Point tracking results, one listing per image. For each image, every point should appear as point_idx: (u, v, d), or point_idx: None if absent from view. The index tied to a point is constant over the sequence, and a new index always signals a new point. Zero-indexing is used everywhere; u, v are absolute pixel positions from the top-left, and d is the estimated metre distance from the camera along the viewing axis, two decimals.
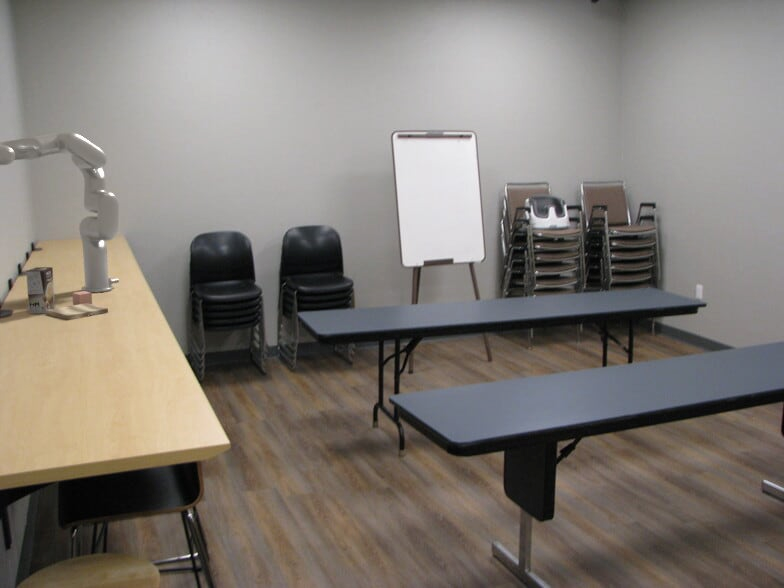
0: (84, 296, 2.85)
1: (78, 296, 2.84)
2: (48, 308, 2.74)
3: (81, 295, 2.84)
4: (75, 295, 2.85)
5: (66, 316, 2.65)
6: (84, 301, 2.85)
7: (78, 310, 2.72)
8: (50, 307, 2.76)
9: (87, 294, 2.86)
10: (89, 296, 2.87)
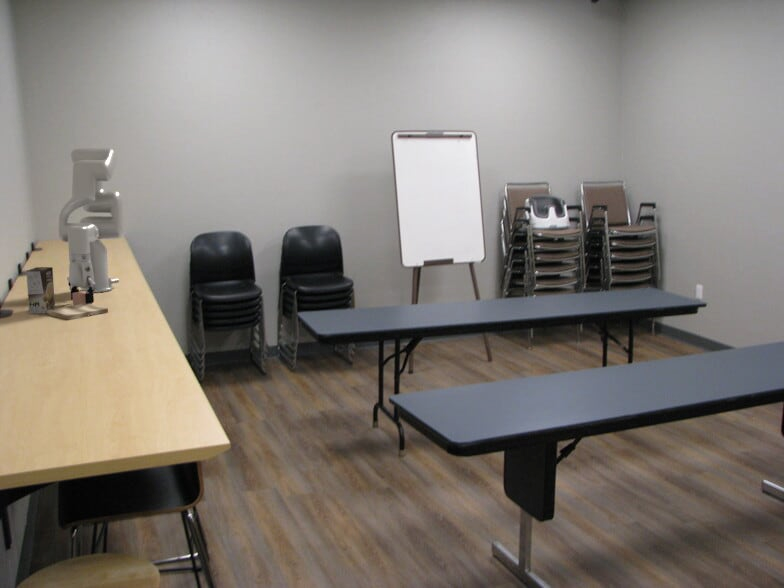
0: (84, 296, 2.85)
1: (78, 296, 2.84)
2: (48, 308, 2.74)
3: (81, 295, 2.84)
4: (75, 295, 2.85)
5: (66, 316, 2.65)
6: (84, 301, 2.85)
7: (78, 310, 2.72)
8: (50, 307, 2.76)
9: None
10: None
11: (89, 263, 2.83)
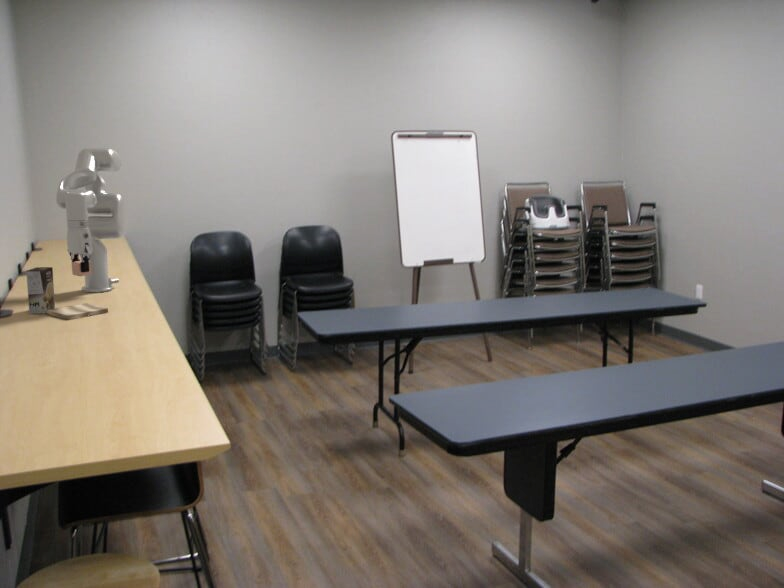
0: None
1: (77, 265, 2.82)
2: (48, 308, 2.74)
3: (80, 264, 2.82)
4: (74, 264, 2.83)
5: (66, 316, 2.65)
6: None
7: (78, 310, 2.72)
8: (50, 307, 2.76)
9: None
10: None
11: (87, 230, 2.80)
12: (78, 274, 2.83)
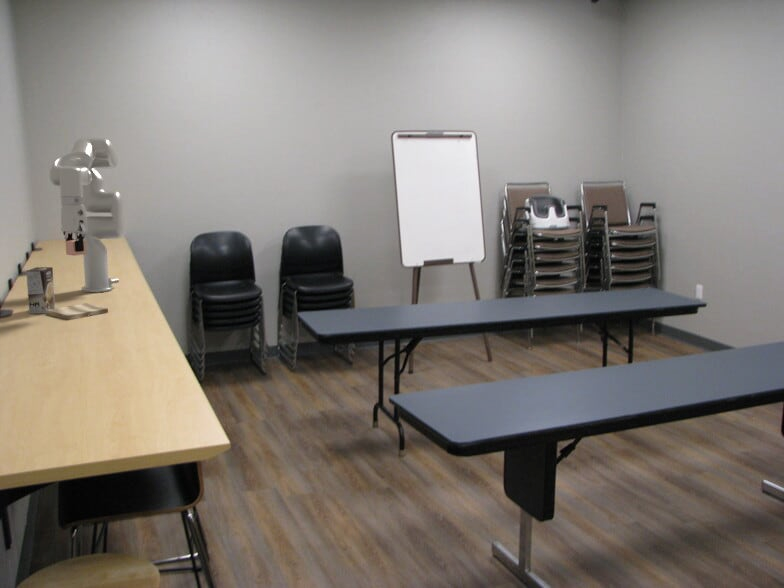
0: None
1: (71, 244, 2.70)
2: (48, 308, 2.74)
3: (74, 243, 2.70)
4: (68, 243, 2.71)
5: (66, 316, 2.65)
6: None
7: (78, 310, 2.72)
8: (50, 307, 2.76)
9: None
10: None
11: (82, 206, 2.68)
12: (72, 253, 2.71)
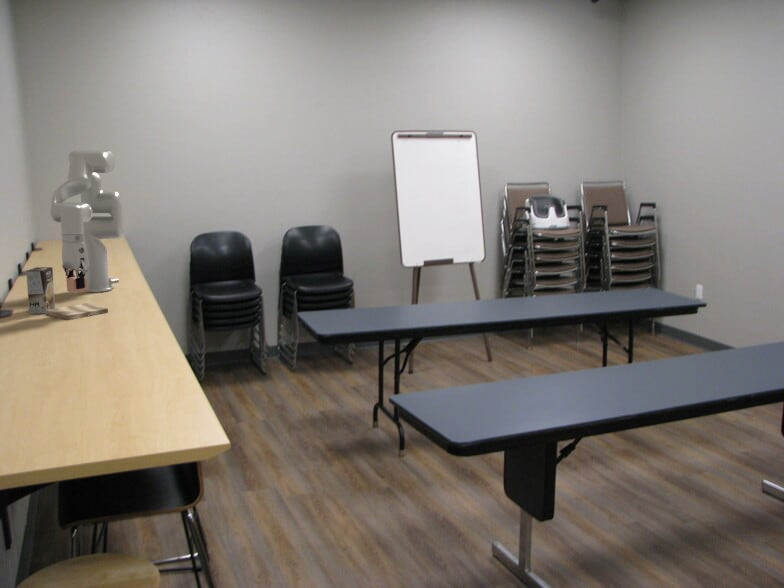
0: None
1: (72, 281, 2.69)
2: (48, 308, 2.74)
3: (75, 280, 2.69)
4: (69, 280, 2.70)
5: (66, 316, 2.65)
6: None
7: (78, 310, 2.72)
8: (50, 307, 2.76)
9: None
10: None
11: (83, 244, 2.67)
12: (73, 290, 2.70)
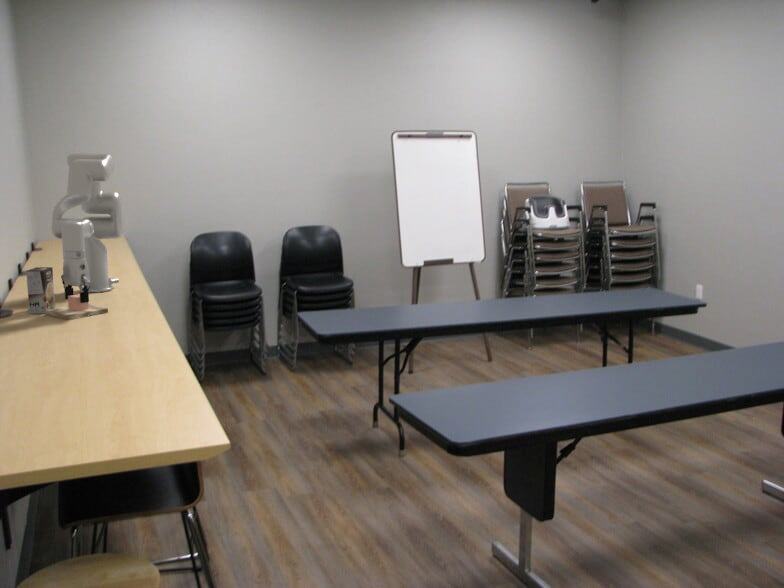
0: None
1: (74, 299, 2.71)
2: (48, 308, 2.74)
3: (77, 298, 2.71)
4: (71, 298, 2.72)
5: (66, 316, 2.65)
6: (80, 304, 2.72)
7: None
8: (50, 307, 2.76)
9: None
10: None
11: (84, 260, 2.69)
12: (74, 309, 2.71)
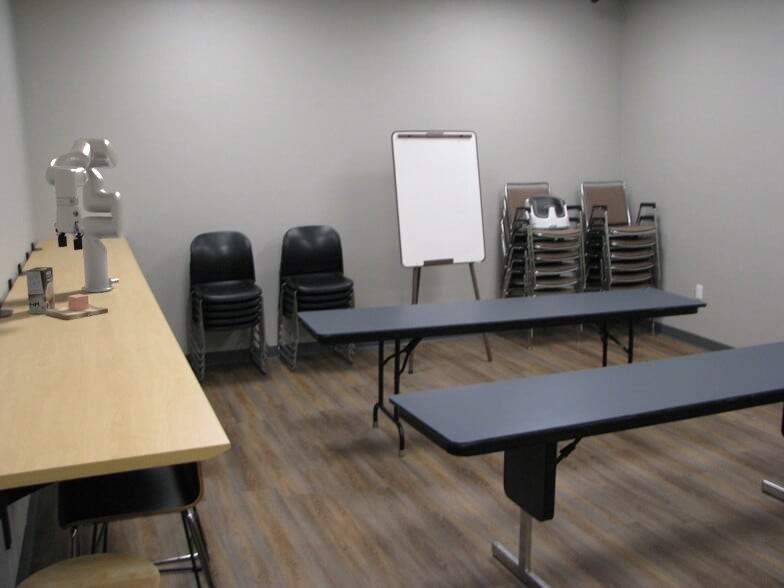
0: (80, 299, 2.72)
1: (74, 299, 2.71)
2: (48, 308, 2.74)
3: (77, 298, 2.71)
4: (71, 298, 2.72)
5: (66, 316, 2.65)
6: (80, 304, 2.72)
7: None
8: (50, 307, 2.76)
9: (83, 297, 2.73)
10: (85, 299, 2.74)
11: (77, 207, 2.68)
12: (74, 309, 2.71)
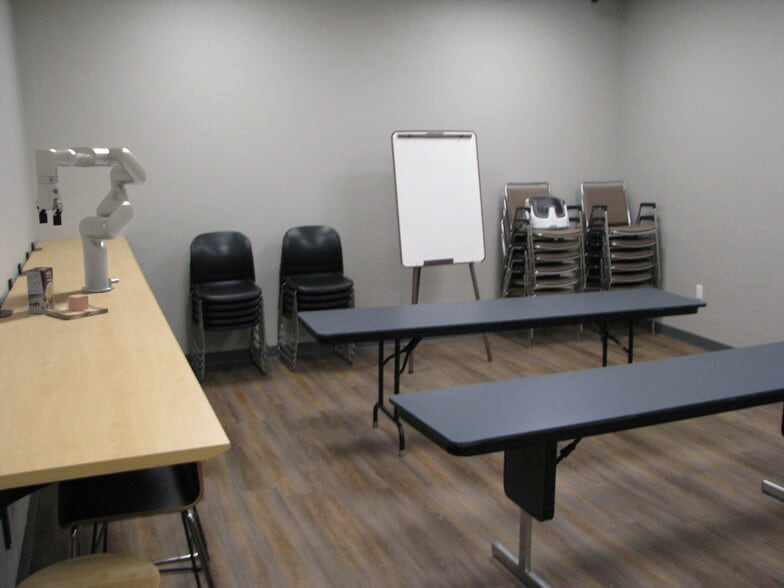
0: (80, 299, 2.72)
1: (74, 299, 2.71)
2: (48, 308, 2.74)
3: (77, 298, 2.71)
4: (71, 298, 2.72)
5: (66, 316, 2.65)
6: (80, 304, 2.72)
7: None
8: (50, 307, 2.76)
9: (83, 297, 2.73)
10: (85, 299, 2.74)
11: (56, 185, 2.86)
12: (74, 309, 2.71)
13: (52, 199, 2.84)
